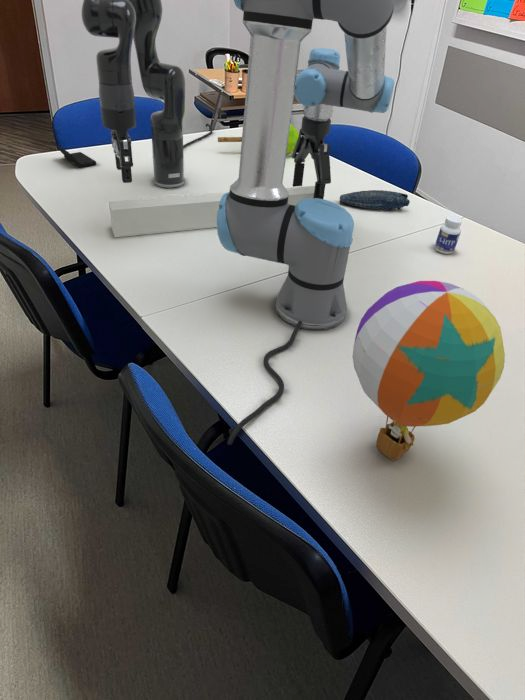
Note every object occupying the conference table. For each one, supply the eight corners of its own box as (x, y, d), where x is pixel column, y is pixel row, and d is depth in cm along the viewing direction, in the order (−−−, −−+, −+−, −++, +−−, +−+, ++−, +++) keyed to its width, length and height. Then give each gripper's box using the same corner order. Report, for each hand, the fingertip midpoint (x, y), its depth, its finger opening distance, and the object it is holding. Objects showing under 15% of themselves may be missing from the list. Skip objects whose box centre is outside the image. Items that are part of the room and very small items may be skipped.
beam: (313, 209, 155) (316, 185, 150) (320, 216, 151) (324, 192, 147) (111, 228, 136) (108, 201, 131) (114, 237, 132) (111, 209, 128)
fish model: (408, 214, 157) (412, 198, 153) (339, 207, 158) (341, 191, 154) (406, 206, 162) (410, 190, 159) (339, 199, 163) (341, 183, 160)
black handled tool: (101, 157, 170) (79, 135, 162) (89, 175, 169) (67, 154, 161) (80, 153, 176) (58, 132, 168) (69, 170, 175) (46, 149, 167)
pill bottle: (433, 251, 139) (442, 220, 133) (435, 243, 143) (444, 213, 137) (453, 256, 138) (464, 225, 132) (454, 247, 142) (465, 217, 136)
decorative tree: (215, 117, 188) (295, 117, 193) (215, 147, 195) (292, 146, 200) (221, 131, 174) (307, 131, 180) (221, 163, 181) (304, 161, 186)
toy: (305, 441, 83) (335, 280, 64) (382, 391, 94) (427, 241, 75) (403, 527, 72) (474, 363, 53) (477, 460, 83) (558, 303, 64)
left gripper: (95, 96, 120) (104, 166, 130) (104, 113, 110) (113, 188, 120) (128, 95, 122) (134, 164, 132) (140, 112, 112) (145, 185, 122)
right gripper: (285, 104, 142) (278, 179, 156) (325, 133, 125) (313, 215, 139) (309, 103, 145) (300, 177, 158) (352, 131, 127) (338, 212, 141)
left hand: (124, 175), depth 126 cm, fingers open, 8 cm apart
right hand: (306, 195), depth 149 cm, fingers open, 13 cm apart
